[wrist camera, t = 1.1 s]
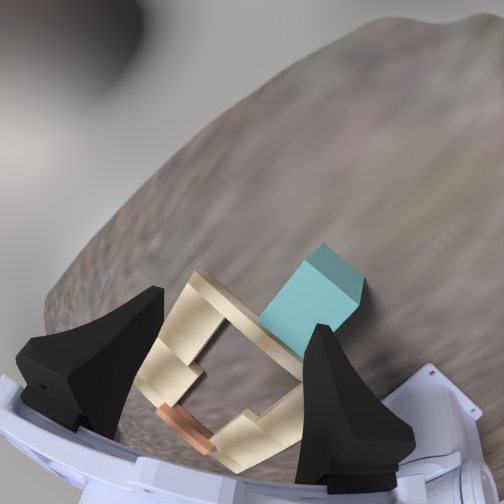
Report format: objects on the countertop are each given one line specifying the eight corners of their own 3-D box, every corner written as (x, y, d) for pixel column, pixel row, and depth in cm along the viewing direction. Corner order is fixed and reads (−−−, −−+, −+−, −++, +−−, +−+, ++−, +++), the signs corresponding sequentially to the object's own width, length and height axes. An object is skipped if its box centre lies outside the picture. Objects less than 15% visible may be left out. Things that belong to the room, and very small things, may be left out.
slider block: (364, 276, 21) (359, 305, 16) (323, 322, 23) (305, 360, 18) (323, 242, 22) (304, 259, 16) (285, 290, 24) (256, 319, 18)
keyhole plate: (355, 396, 23) (351, 413, 20) (240, 467, 31) (232, 480, 28) (202, 267, 26) (186, 274, 24) (137, 377, 34) (124, 386, 32)
